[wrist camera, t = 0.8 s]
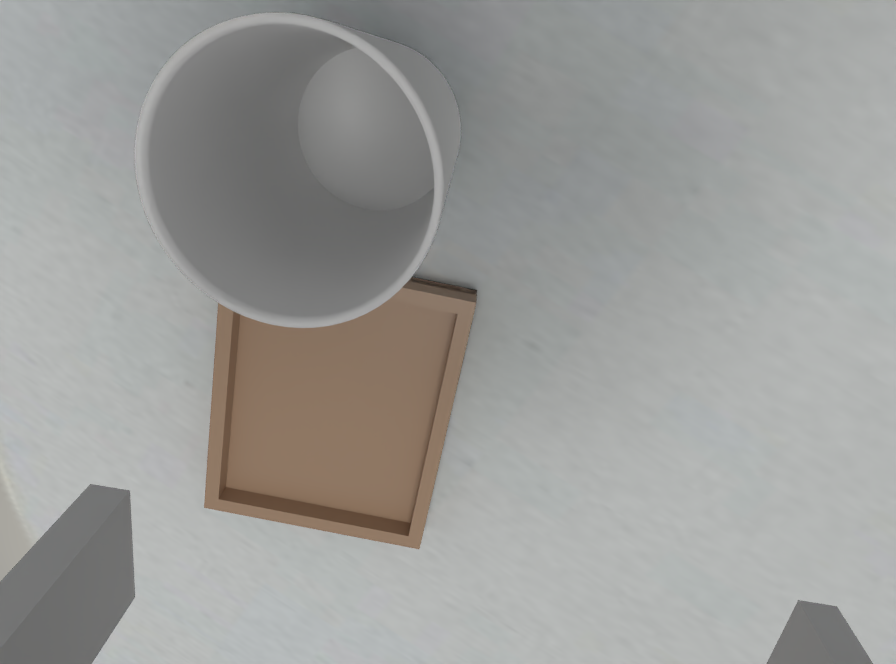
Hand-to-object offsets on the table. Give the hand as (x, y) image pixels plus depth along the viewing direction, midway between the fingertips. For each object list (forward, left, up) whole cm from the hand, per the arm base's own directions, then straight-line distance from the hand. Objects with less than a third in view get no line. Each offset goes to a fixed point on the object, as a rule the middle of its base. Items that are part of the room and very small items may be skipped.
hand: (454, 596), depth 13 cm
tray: (+9, -6, -23) cm, 26 cm away
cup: (-6, -6, -23) cm, 25 cm away
